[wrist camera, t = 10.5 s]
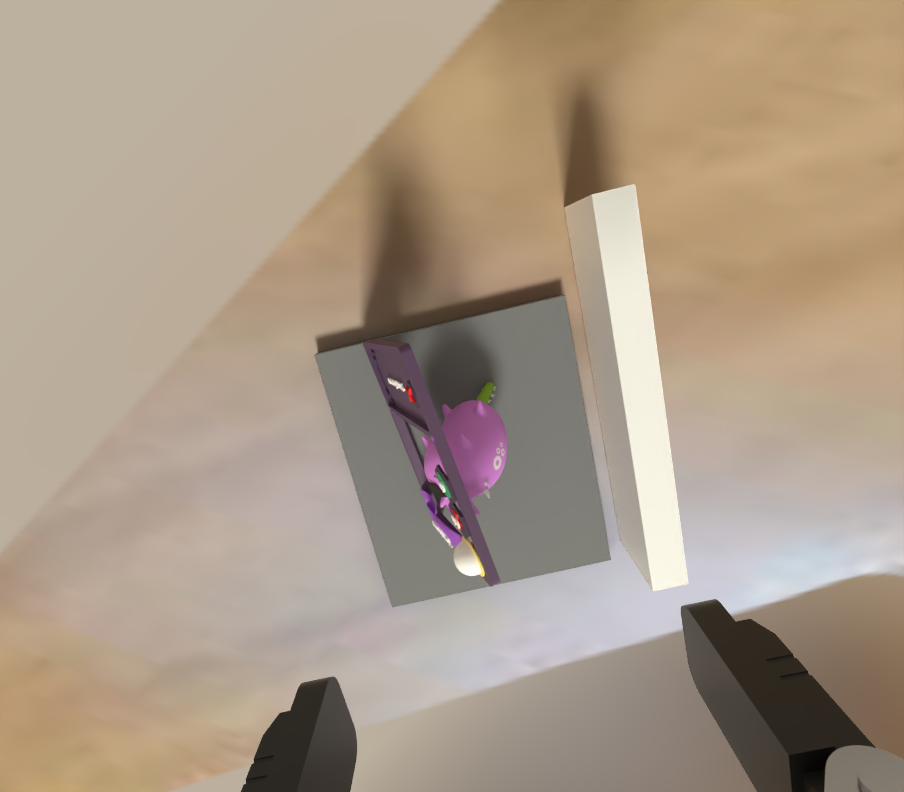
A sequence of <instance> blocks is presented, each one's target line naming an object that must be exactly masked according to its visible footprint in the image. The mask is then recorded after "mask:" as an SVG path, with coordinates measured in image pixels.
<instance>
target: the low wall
mask: <svg viewBox="0 0 904 792" xmlns="http://www.w3.org/2000/svg"><path fill="white" fill-rule="evenodd" d="M564 209H565V215H566V221H567V227H568V233H569V238H570V244H571V250H572V256H573V262H574V268H575V274H576V280H577V286H578V292H579V298H580V304H581V310H582V316H583V322H584V328H585V334H586V339H587V345H588V351H589V357H590V363H591V369H592V375H593V381H594V387H595V393H596V399H597V405H598V411H599V417H600V423H601V429H602V435H603V441H604V446H605V452H606V458H607V464H608V470H609V476H610V482H611V488H612V494H613V500H614V506H615V512H616V518H617V524H618V530H619V536H620V541H621V543H622V544H623V546H624V547H625V549H626V550H627V552H628V554H629V555H630V557H631V558H632V560H633V561H634V563H635V564H636V566H637V567H638V569H639V571H640V572H641V574H642V575H643V577H644V578H645V580H646V581H647V583H648V584H649V586H650V588H651V589H652V591H657V590H662V589H666V588H671V587H676V586H680V585H685V584H688V577H687V569H686V562H685V554H684V547H683V539H682V532H681V524H680V517H679V509H678V502H677V494H676V487H675V479H674V472H673V464H672V457H671V449H670V442H669V434H668V427H667V419H666V412H665V404H664V397H663V389H662V382H661V374H660V367H659V359H658V352H657V344H656V337H655V329H654V322H653V314H652V307H651V299H650V292H649V284H648V277H647V269H646V262H645V254H644V247H643V239H642V232H641V224H640V217H639V209H638V202H637V194H636V187H635V184H632V185H628V186H624V187H620V188H616V189H612V190H608V191H604V192H600V193H596V194H592V195H590V196H587V197H585V198H583V199H581V200H579V201H577V202H575V203H573V204H570V205H568V206H566V207H564Z"/></svg>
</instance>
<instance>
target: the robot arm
mask: <svg viewBox="0 0 904 792" xmlns="http://www.w3.org/2000/svg"><path fill="white" fill-rule="evenodd" d="M681 617H682V624H683V631H684V637H685V644H686V651H687V658H688V664H689V668H690V671H691V674H692V677H693V680H694V682H695V684H696V687H697V689H698V691H699V693H700V695H701V696H702V698H703V700H704V701H705V703H706V705H707V707H708V708H709V710H710V712H711V714H712V715H713V717H714V719H715V720H716V722H717V724H718V725H719V727H720V729H721V730H722V732H723V734H724V736H725V737H726V739H727V741H728V743H729V744H730V746H731V748H732V749H733V751H734V753H735V755H736V756H737V758H738V760H739V761H740V763H741V765H742V767H743V768H744V770H745V772H746V773H747V775H748V777H749V778H750V780H751V782H752V784H753V785H754V787H755V789H756V790H757V792H904V760H903V759H901V758H900V757H897V756H895V755H893V754H891V753H889V752H886V751H884V750H881V749H878V748H876V747H875V746H874V745H873V744H872V743H871V742H870V741H869V740H868V739H867V738H866V737H865V735H864V734H863V733H862V732H861V731H860V730H859V729H858V727H857V726H856V725H855V724H854V723H853V722H852V721H851V720H850V718H849V717H848V716H847V715H846V714H845V713H844V712H843V710H842V709H841V708H840V707H839V706H838V705H837V704H836V703H835V701H834V700H833V699H832V698H831V697H830V696H829V695H828V693H827V692H826V691H825V690H824V689H823V688H822V687H821V685H819V683H818V682H817V681H816V680H815V679H814V678H813V676H812V675H809V674H808V671H807V670H806V669H805V667H804V666H803V665H802V664H801V663H800V662H799V661H798V659H796V658H794V656H793V654H792V653H791V651H790V650H789V649H788V648H787V647H786V646H785V645H784V644H783V642H782V641H781V640H780V639H779V638H778V637H777V636H776V634H774V633H773V632H771V631H769V630H767V629H766V628H765V627H763V626H761V625H760V624H758V623H756V622H755V621H753V620H751V619H747V620H742V621H737V622H735V621H734V619H733V618H732V617H731V615H730V614H729V613H728V612H727V610H726V609H725V608H724V607H723V605H722V604H721V603H720V602H719V601H718V600H716V599H713V600H708V601H704V602H699V603H694V604H689V605H684V606H682V607H681ZM356 756H357V739H356V732H355V728H354V724H353V722H352V719H351V716H350V713H349V710H348V708H347V705H346V702H345V699H344V696H343V694H342V691H341V688H340V685H339V683H338V681H337V679H336V678H335V677H328V678H323V679H318V680H313V681H309V682H304V683H302V684H301V685H300V686H299V688H298V690H297V693H296V696H295V699H294V702H293V704H292V707H291V710H290V711H287V712H282V713H280V714H279V715H278V716H277V718H276V719H275V720H274V722H273V723H272V724H271V725H270V727H269V728H268V729H267V731H266V732H265V733H264V735H263V737H262V739H261V742H260V745H259V747H258V750H257V752H256V755H255V757H254V764H252V765H251V767H250V770H249V773H248V775H247V778H246V784H244V785H243V788H242V790H241V792H350V790H351V785H352V779H353V774H354V768H355V763H356Z"/></svg>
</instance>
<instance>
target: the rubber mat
mask: <svg viewBox="0 0 904 792" xmlns="http://www.w3.org/2000/svg"><path fill="white" fill-rule="evenodd" d="M376 340H386V341H395V342H404V343H409V345H410V346H411V348H412V351H413V353H414V356H415V358H416V361H417V364H418V366H419V369H420V371H421V374H422V377H423V379H424V382H425V384H426V387H427V390H428V392H429V395H430V398H431V400H432V403H433V405H434V408H435V411H436V413H437V416H438V418H439V421H440V424H441V426H442V424H443V423H444V421H445V416H444V413H443V410H442V406H443V405H444V404H446V405H447V406H448V407H449V408H450V409H451V410H452V409H454V408H455V407H456V406H458V405H459V404H461V403H463V402H466V401H470V400H476V399H477V397H478V395H479V394H480V393H481V390H482V388H483V387H484V386H485V384H486V383H488V382H491V383H493V385H494V387H496V388H495V391H494V390H492V394H494V395H496V396H493V397H494V398H492V397H489V400H491V401H490V403H487V404H488V405H490V406H491V407H492V408H493V409H494V410H495V411H496V412H497V413H498V414H499V416H500V417H501V419H502V421H503V423H504V426H505V430H506V434H507V457H506V462H505V466H504V468H503V471H502V473H501V475H500V477H499V478H498V480H497V481H496V482H495V484H494V485H493V486H492V487H491V488H489V489H488V491H489V494H490V499H489V498H488V497H487V496H486V495H485V494H484V493H482V494H481V495H479V496H476V497H474V498H472V502H473V504H474V505H475V507H476V508H477V509H478V510H479V511H480V512H481V513H480V514H478V515H476V518H477V520H478V523H479V526H480V528H481V531H482V533H483V536H484V539H485V541H486V544H487V546H488V549H489V552H490V554H491V557H492V559H493V562H494V565H495V567H496V570H497V573H498V575H499V578H500V582H499V583H497V584H502V583H507V582H511V581H516V580H520V579H525V578H530V577H534V576H539V575H544V574H548V573H553V572H557V571H562V570H567V569H571V568H576V567H580V566H585V565H590V564H594V563H599V562H603V561H608V560H611V557H610V552H609V546H608V540H607V534H606V529H605V523H604V517H603V512H602V506H601V500H600V495H599V489H598V483H597V477H596V472H595V466H594V460H593V455H592V449H591V443H590V438H589V432H588V426H587V420H586V415H585V409H584V403H583V398H582V392H581V386H580V381H579V375H578V369H577V363H576V358H575V352H574V346H573V341H572V335H571V329H570V324H569V318H568V312H567V306H566V301H565V295H558V296H554V297H549V298H545V299H541V300H537V301H533V302H528V303H524V304H520V305H516V306H512V307H507V308H503V309H499V310H495V311H491V312H486V313H482V314H478V315H474V316H470V317H466V318H461V319H457V320H453V321H449V322H445V323H440V324H436V325H432V326H428V327H424V328H419V329H415V330H411V331H407V332H403V333H398V334H394V335H390V336H386V337H382V338H377V339H376ZM315 358H316V361H317V365H318V368H319V371H320V374H321V378H322V381H323V384H324V387H325V391H326V394H327V397H328V400H329V404H330V407H331V410H332V413H333V417H334V420H335V423H336V426H337V430H338V433H339V436H340V439H341V443H342V446H343V449H344V452H345V456H346V459H347V462H348V465H349V469H350V472H351V475H352V478H353V482H354V485H355V488H356V491H357V495H358V498H359V501H360V504H361V508H362V511H363V514H364V518H365V521H366V524H367V527H368V531H369V534H370V537H371V540H372V544H373V547H374V550H375V553H376V557H377V560H378V563H379V566H380V570H381V573H382V576H383V579H384V583H385V586H386V589H387V592H388V596H389V599H390V602H391V605H392V607H396V606H401V605H405V604H410V603H415V602H419V601H424V600H428V599H433V598H438V597H442V596H447V595H451V594H456V593H461V592H465V591H470V590H474V589H479V588H484V587H488V586H490V585H489V584H488V583H487V582H486V581H485V580H484V578H483V577H482V576H480V575H479V574H478V575H475V576H469V575H465V574H463V573H461V572H460V571H459V570H458V569H457V567H456V565H455V563H454V551H455V548H456V547H455V546H454V545H453V544H452V543H451V544H452V546H453V547H452V548H451V547H450V546H449V543H447V541H446V540H445V539H444V538H443V537H442V535H441V534H440V533H439V532H438V531H437V529H436V528H435V526H433V523H432V521H433V519H432V517H431V514H430V512H429V509H428V507H427V503H425V498H424V496H423V494H422V492H421V490H420V488H421V486H420V484H419V481H418V479H417V476H416V474H415V471H414V469H413V466H412V464H411V461H410V459H409V457H408V454H407V452H406V449H405V447H404V444H403V442H402V439H401V437H400V434H399V432H398V430H397V427H396V425H395V422H394V420H393V417H392V415H391V412H390V410H389V407H388V405H387V402H386V400H385V398H384V395H383V393H382V390H381V388H380V385H379V383H378V380H377V378H376V375H375V373H374V371H373V368H372V366H371V363H370V361H369V358H368V356H367V353H366V351H365V348H364V346H363V342H361V343H356V344H352V345H348V346H344V347H340V348H335V349H331V350H327V351H323V352H319V353H317V354H315ZM404 421H405V420H404ZM405 424H406V426H407V429H408V431H409V434H410V436H411V439H412V441H413V444H414V446H415V449H416V451H417V454H418V456H419V459H420V461H421V464H422V466H423V469H424V458H425V454H426V446H425V444H424V442H423V439H422V436H425V437H427V438H429V439H431V438H430V437H428V436H427V435H425V434H424V433H422V432H421V431H420V430H418V429H417V428H415V427H414V426H412V425H411V424H409V423H408V422H407V421H405ZM431 440H432V439H431ZM421 489H422V488H421ZM434 496H435V498H436V501H437V503H438V506H439V508H440V511H441V513H442V514H443V515H444V516H445V517H446V518H447V519H448V520H449V521H450V523H451V524H452V525H453V526H454V527H455V528H456V529H457V530H458V531H459V532H460V533H461V531H460V530H459V529H458V528H457V525H455V524H454V522H453V520H452V517H451V515H452V513H450V512H449V511H448V509H447V506H446V504H445V505H444V506H443V507H442V508H441V507H440V501H441V498H442V497H440V496H436V495H435V494H434ZM455 504H456V505H457V507H458V508H459V506H458V503H457V501H456V502H455ZM459 510H460V508H459ZM461 534H462V533H461ZM462 536H463V534H462ZM468 539H469V541H471V542H472V539H471V537H468ZM472 543H473V542H472ZM497 584H495V585H497Z"/></svg>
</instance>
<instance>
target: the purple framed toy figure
mask: <svg viewBox="0 0 904 792" xmlns="http://www.w3.org/2000/svg"><path fill="white" fill-rule="evenodd" d="M363 346H364V348H365V351H366V353H367V356H368V358H369V361H370V363H371V366H372V368H373V371H374V373H375V375H376V378H377V380H378V383H379V385H380V388H381V390H382V393H383V395H384V398H385V400H386V402H387V405H388V407H389V410H390V412H391V415H392V417H393V420H394V422H395V425H396V427H397V430H398V432H399V434H400V437H401V439H402V442H403V444H404V447H405V449H406V452H407V454H408V457H409V459H410V461H411V464H412V466H413V469H414V471H415V474H416V476H417V479H418V481H419V484H420V486H421V488H422V489H421V488H420V490H421V492H422V494H423V496H424V498H425V503H427V507H428V509H429V512H430V514H431V517H432V519H433V521H432V523H433V526H435V528H436V529H437V531H438V532H439V533H440V534H441V535H442V537H443V538H444V539H445V540H446V541H447V543H449V546H450V547H451V548H452V547H453V546H452V544H453V545H454V546H455V547H456V548H455V551H454V563H455V565H456V567H457V569H458V570H459V571H460V572H461V573H463V574H465V575H469V576H475V575H478V574H479V575H480V576H482V577H483V578H484V580H485V581H486V582H487V583H488V584H489V585H490V587H492V586H493V585H495V584H497V583H499V582H500V578H499V575H498V573H497V570H496V567H495V565H494V562H493V559H492V557H491V554H490V552H489V549H488V546H487V544H486V541H485V539H484V536H483V533H482V531H481V528H480V526H479V523H478V520H477V518H476V515H478V514H480V513H481V512H480V511H479V510H478V509H477V508H476V507H475V505H474V504H473V502H472V498H474V497H476V496H479V495H481V494H482V493H484V494H485V495H486V496H487V497H488V498H489V499H490V494H489V491H488V489H489V488H491V487H492V486H493V485H494V484H495V482H496V481H497V480H498V478H499V477H500V475H501V473H502V471H503V468H504V466H505V462H506V457H507V434H506V430H505V426H504V423H503V421H502V419H501V417H500V416H499V414H498V413H497V412H496V411H495V410H494V409H493V408H492V407H491V406H490V405H488V404H487V403H490V401H491V400H489V397H492V398H494V397H493V396H496V395H494V394H492V390H494V391H495V388H496V387H494V385H493V383H491V382H488V383H486V384H485V386H484V387H483V388H482V390H481V393H480V394H479V395H478V397H477V399H476V400H470V401H466V402H463V403H461V404H459V405H458V406H456V407H455V408H454V409H452V410H451V409H450V408H449V407H448V406H447V405H446V404H444V405H443V406H442V410H443V413H444V416H445V421H444V423H443V424H442V426H441V424H440V421H439V418H438V416H437V413H436V411H435V408H434V405H433V403H432V400H431V398H430V395H429V392H428V390H427V387H426V384H425V382H424V379H423V377H422V374H421V371H420V369H419V366H418V364H417V361H416V358H415V356H414V353H413V351H412V348H411V346H410V345H409V343H404V342H395V341H386V340H376V339H369V340H367V341H364V342H363ZM404 420H405V421H407V422H408V423H409V424H411V425H412V426H414V427H415V428H417V429H418V430H420V431H421V432H422V433H424V434H425V435H427V436H428V437H430V438H431V439H432V440H431V439H429V438H427V437H425V436H422V439H423V442H424V444H425V446H426V454H425V458H424V469H423V466H422V464H421V461H420V459H419V456H418V454H417V451H416V449H415V446H414V444H413V441H412V439H411V436H410V434H409V431H408V429H407V426H406V424H405V421H404ZM434 494H435V495H436V496H440V497H442V498H441V501H440V507H441V508H442V507H443V506H444V505H445V504H446V506H447V509H448V511H449V512H450V513H452V515H451V517H452V520H453V522H454V524H455V525H457V528H458V529H459V530H460V531H461V533H462V534H463V536H462V534H461V533H460V532H459V531H458V530H457V529H456V528H455V527H454V526H453V525H452V524H451V523H450V521H449V520H448V519H447V518H446V517H445V516H444V515H443V514H442V513H441V511H440V508H439V506H438V503H437V501H436V498H435V496H434ZM456 501H457V503H458V506H459V508H460V510H459V508H458V507H457V505H456V504H455V502H456ZM468 537H471V539H472V542H473V543H472V542H471V541H469V539H468ZM451 543H452V544H451Z"/></svg>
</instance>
